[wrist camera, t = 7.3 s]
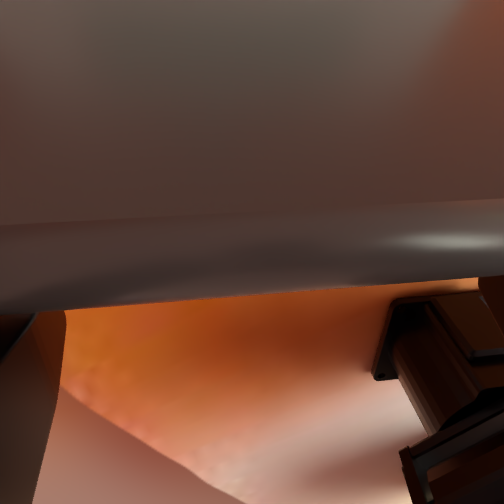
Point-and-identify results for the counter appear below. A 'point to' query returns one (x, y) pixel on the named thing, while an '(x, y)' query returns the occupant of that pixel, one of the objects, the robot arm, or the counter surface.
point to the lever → (246, 147)
